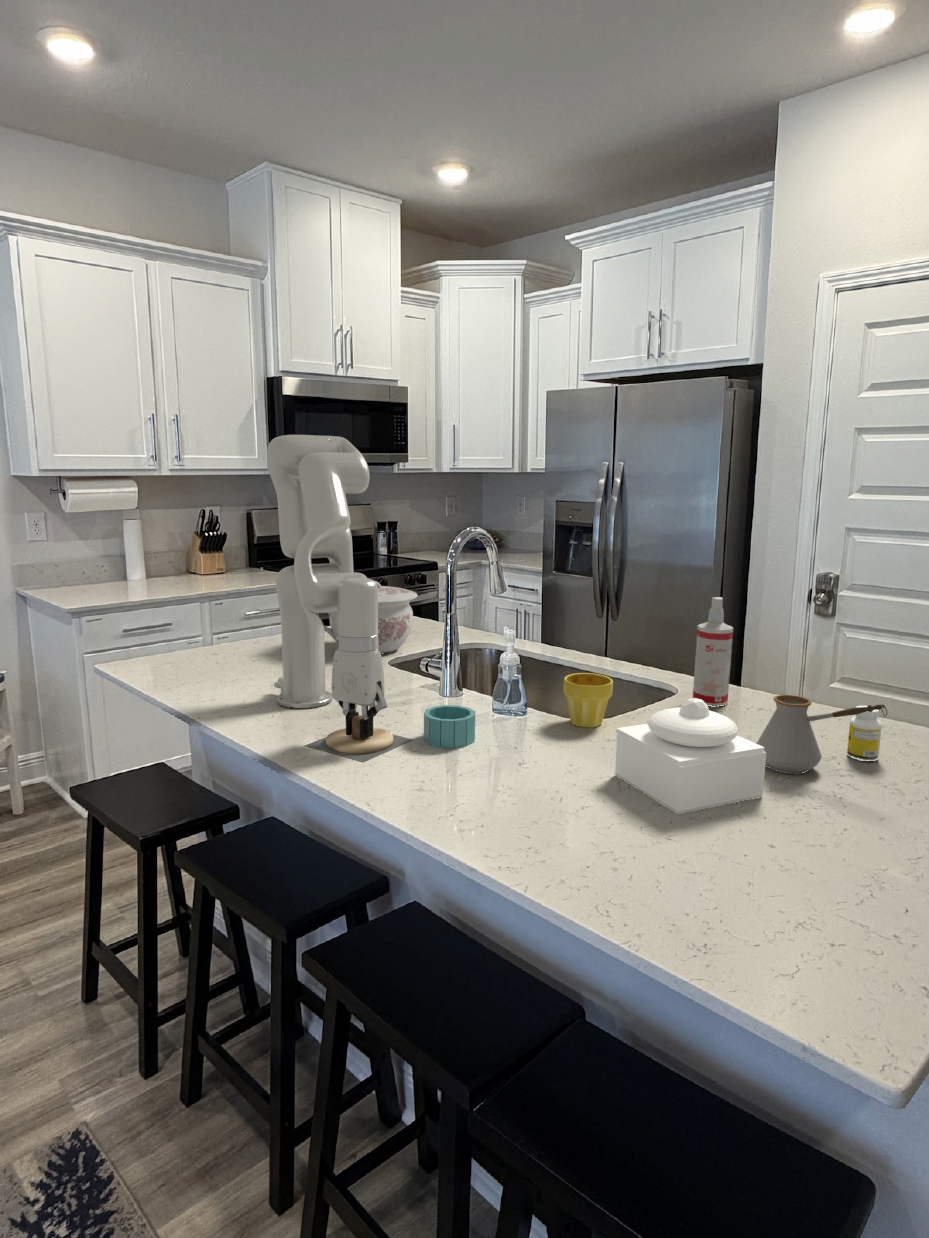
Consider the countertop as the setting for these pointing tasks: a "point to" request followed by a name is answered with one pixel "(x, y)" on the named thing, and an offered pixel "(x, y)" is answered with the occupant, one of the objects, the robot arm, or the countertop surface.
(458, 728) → the bowl
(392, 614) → the chamber pot
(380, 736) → the lid
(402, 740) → the mat
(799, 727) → the coffee pot
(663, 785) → the white square canister
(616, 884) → the countertop surface
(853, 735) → the supplement bottle
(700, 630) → the spray bottle
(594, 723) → the plant pot
